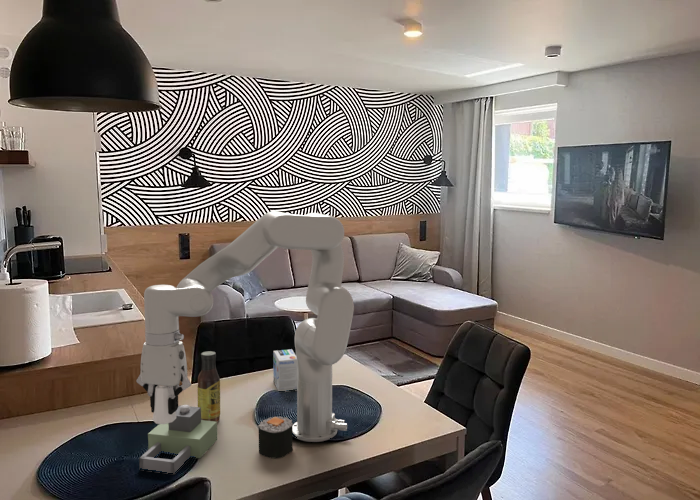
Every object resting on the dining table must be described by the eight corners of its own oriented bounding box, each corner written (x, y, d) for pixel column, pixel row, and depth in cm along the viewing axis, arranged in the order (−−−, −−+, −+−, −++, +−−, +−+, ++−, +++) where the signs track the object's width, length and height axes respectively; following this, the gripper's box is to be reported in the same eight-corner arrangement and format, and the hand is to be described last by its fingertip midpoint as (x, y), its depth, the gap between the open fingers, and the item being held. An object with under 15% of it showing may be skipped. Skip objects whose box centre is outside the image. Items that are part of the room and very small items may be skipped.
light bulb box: (272, 380, 188) (272, 350, 186) (292, 378, 190) (292, 348, 188) (278, 392, 178) (278, 360, 176) (298, 390, 180) (298, 358, 178)
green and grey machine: (217, 439, 146) (216, 403, 145) (184, 475, 129) (182, 434, 127) (169, 434, 149) (167, 398, 147) (130, 468, 131) (128, 428, 130)
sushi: (253, 453, 139) (252, 423, 138) (273, 439, 147) (273, 411, 145) (278, 461, 135) (278, 431, 134) (298, 447, 142) (298, 418, 141)
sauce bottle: (214, 426, 153) (213, 358, 151) (193, 424, 155) (192, 356, 152) (224, 416, 160) (223, 350, 157) (204, 414, 161) (203, 349, 158)
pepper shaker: (165, 412, 136) (164, 370, 135) (181, 418, 134) (180, 374, 132) (147, 420, 132) (146, 376, 130) (163, 426, 129) (162, 381, 127)
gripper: (202, 335, 132) (203, 408, 135) (139, 330, 135) (141, 401, 138) (187, 344, 125) (189, 421, 127) (121, 339, 128) (124, 414, 130)
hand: (164, 410), depth 132 cm, fingers closed on pepper shaker, 3 cm apart
